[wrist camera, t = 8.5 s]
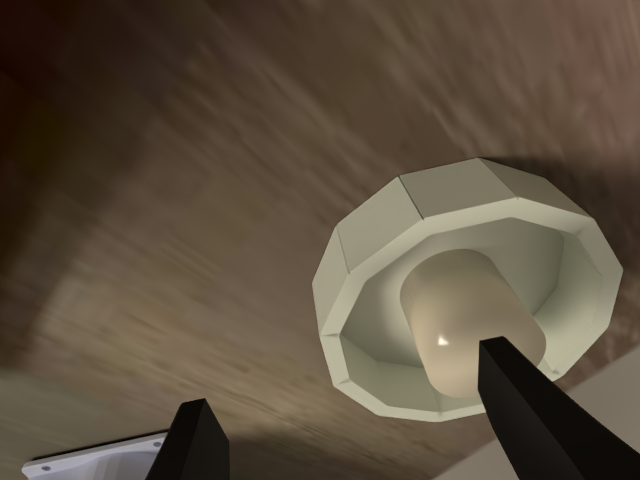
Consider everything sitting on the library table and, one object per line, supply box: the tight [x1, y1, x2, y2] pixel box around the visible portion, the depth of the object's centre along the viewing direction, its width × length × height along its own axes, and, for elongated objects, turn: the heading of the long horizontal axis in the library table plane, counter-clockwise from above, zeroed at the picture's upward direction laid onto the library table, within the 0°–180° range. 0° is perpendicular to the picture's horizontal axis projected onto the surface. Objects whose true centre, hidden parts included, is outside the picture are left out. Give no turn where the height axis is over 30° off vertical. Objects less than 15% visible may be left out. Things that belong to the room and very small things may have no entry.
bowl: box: [312, 158, 623, 422], centre depth 21 cm, size 13×13×4 cm
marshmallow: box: [400, 249, 546, 399], centre depth 20 cm, size 5×5×4 cm
